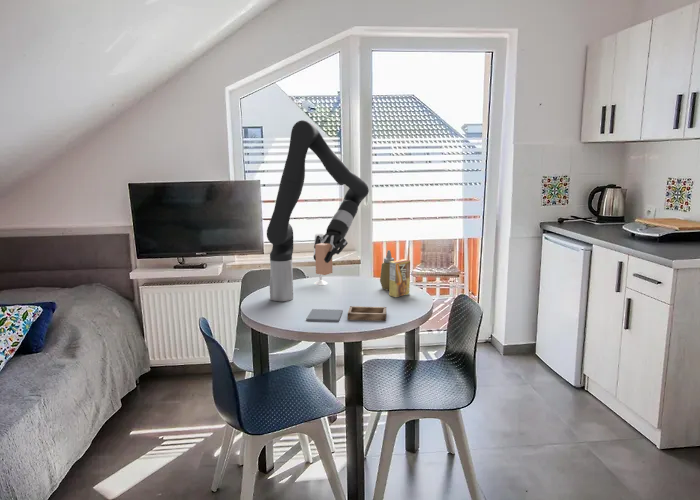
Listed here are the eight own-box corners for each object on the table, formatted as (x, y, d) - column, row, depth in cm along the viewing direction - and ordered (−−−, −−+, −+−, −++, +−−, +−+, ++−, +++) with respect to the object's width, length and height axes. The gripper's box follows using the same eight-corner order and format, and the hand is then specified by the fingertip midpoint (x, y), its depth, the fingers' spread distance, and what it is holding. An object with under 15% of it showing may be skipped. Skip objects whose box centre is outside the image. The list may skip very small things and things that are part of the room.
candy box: (403, 292, 210) (403, 258, 208) (410, 294, 207) (410, 260, 204) (388, 295, 205) (389, 261, 202) (395, 297, 202) (396, 262, 199)
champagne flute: (330, 283, 228) (329, 234, 223) (320, 285, 223) (319, 235, 219) (321, 280, 232) (320, 232, 228) (311, 283, 227) (309, 234, 223)
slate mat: (306, 320, 172) (306, 318, 172) (312, 311, 184) (312, 309, 184) (338, 321, 171) (338, 319, 171) (342, 311, 183) (342, 309, 183)
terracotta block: (315, 273, 174) (315, 244, 172) (323, 271, 178) (322, 242, 176) (325, 275, 172) (324, 245, 170) (332, 272, 175) (332, 243, 173)
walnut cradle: (347, 319, 173) (347, 313, 173) (350, 312, 182) (350, 306, 181) (385, 320, 172) (385, 314, 171) (386, 313, 180) (386, 307, 180)
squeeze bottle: (392, 292, 211) (392, 252, 208) (376, 289, 215) (376, 251, 212) (400, 288, 217) (400, 249, 214) (385, 285, 222) (385, 248, 219)
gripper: (321, 217, 181) (301, 252, 174) (351, 219, 173) (331, 257, 165) (330, 229, 186) (310, 264, 179) (359, 232, 178) (340, 268, 171)
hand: (320, 260), depth 172 cm, fingers closed on terracotta block, 4 cm apart
